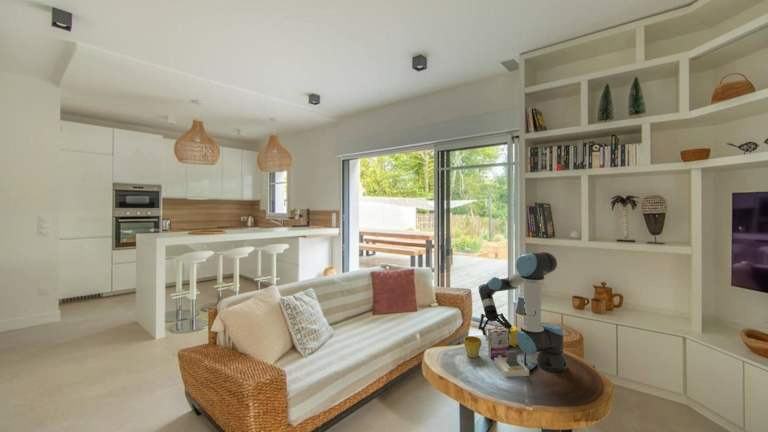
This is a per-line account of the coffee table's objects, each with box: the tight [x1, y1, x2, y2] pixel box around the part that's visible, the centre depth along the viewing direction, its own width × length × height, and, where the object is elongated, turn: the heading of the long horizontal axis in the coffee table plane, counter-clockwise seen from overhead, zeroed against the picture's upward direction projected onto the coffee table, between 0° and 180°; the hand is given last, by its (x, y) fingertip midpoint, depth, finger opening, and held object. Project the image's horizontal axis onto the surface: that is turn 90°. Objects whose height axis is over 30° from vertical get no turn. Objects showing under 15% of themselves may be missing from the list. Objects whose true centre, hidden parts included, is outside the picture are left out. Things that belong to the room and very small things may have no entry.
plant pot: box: [463, 335, 482, 359], centre depth 199 cm, size 10×10×10 cm
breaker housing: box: [494, 355, 530, 378], centre depth 181 cm, size 13×15×4 cm
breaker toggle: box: [505, 350, 519, 366], centre depth 180 cm, size 6×4×7 cm, turn 92°
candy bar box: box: [487, 327, 510, 360], centre depth 196 cm, size 11×5×16 cm, turn 94°
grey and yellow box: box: [492, 323, 521, 348], centre depth 213 cm, size 13×20×12 cm
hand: (498, 340), depth 196 cm, fingers open, 13 cm apart
